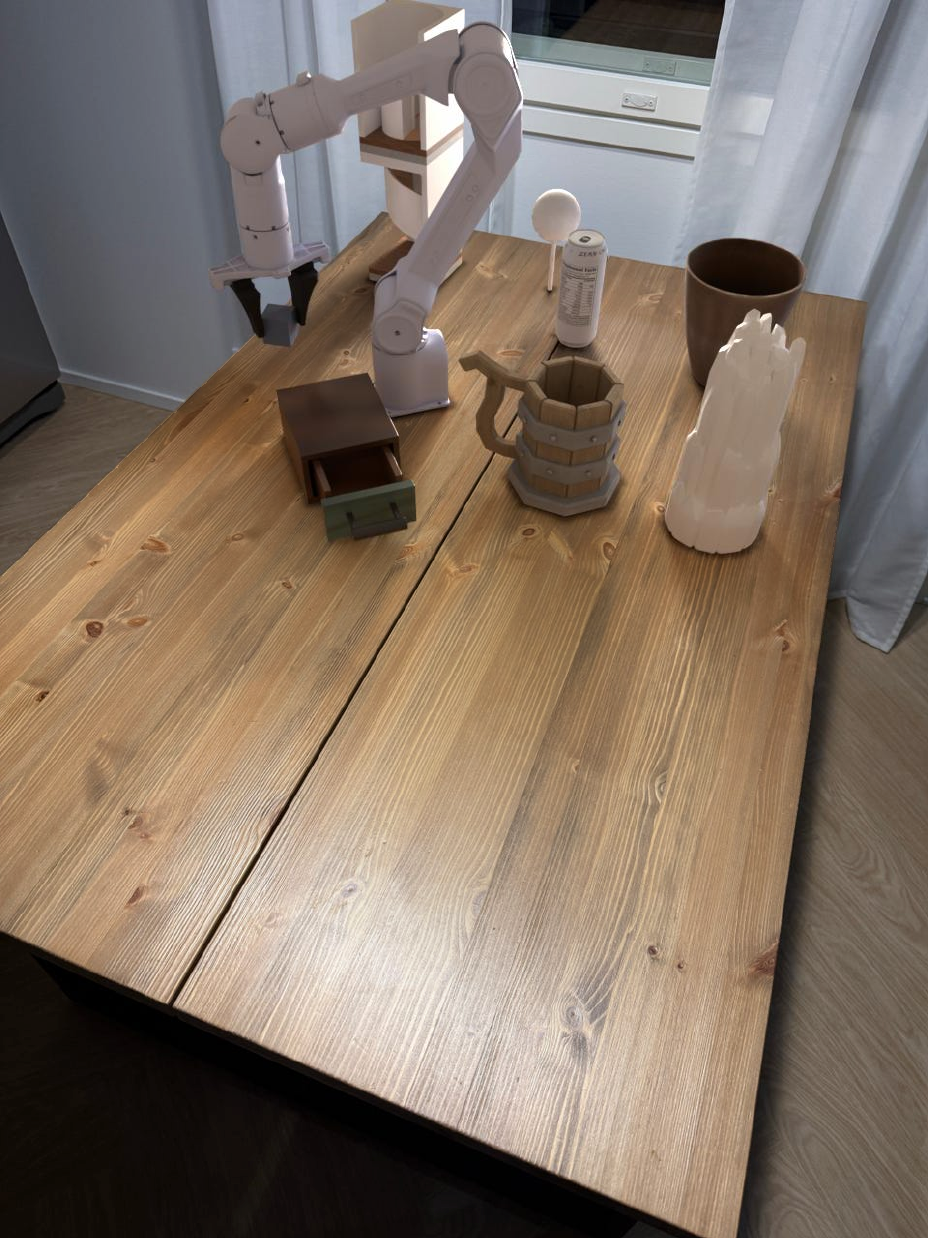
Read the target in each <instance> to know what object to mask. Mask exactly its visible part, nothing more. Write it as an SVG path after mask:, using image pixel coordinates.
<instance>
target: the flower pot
mask: <svg viewBox="0 0 928 1238" xmlns="http://www.w3.org/2000/svg"><path fill="white" fill-rule="evenodd" d="M807 279H808V271H807V267H806V265H805V263H804V262H803V261H802V259H800V257H798V256H797V255H796V254H795V253H793V252H791V251H790V250H788V249H786V248H784V247H782V246H780V245H777V244H774V243H772V242H768V241H763V240H760V239H755V238H747V237H723V238H717V239H716V238H715V239H711V240H708V241H705V242H702V243H700V244H698V245H696V246H695V247H693V249H691V250H690V251H689V253H688V254H687V256H686V259H685V271H684V293H683V294H684V295H683V296H684V297H683V298H684V299H683V301H684V307H683V308H684V329H685V338H686V339H685V340H686V347H687V348H686V349H687V354H688V361H689V366H690V371H691V374H692V377H693V378H694V379H695V380H696V382H697V383H699V384H700V385H702V386H704V387H706V384H707V380H708V376H709V372H710V370H711V368H712V366H713V363H714V361H715V359H716V357H717V355H718V353H719V351H720V350H721V348H722V347H724V346H726V345H727V344H728V342H729V340H730V338H731V337H732V335H733V333H734V331H735V330H736V328H737V326H738V325H740V324H742V323H743V321H744V319H745V317H746V314H747V313H748V312H750V311H751V310H753V309H756V310H758V311H759V312H760V318H761V317H762V316H763V315H765V314H768V313H771V315H772V322H771V332H770V333H772V332H773V330H774V327H775V325H776V324H778V325H779V326H781V327H782V328H784V325H785V323H786V322H787V320H788V319H789V316H790V314H791V312H792V311H793V308H794V306H795V304H796V302H797V300H798V298H799V296H800V294H801V292H802V290H803V288H804V285H805V284H806V281H807Z"/></svg>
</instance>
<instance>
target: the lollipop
mask: <svg viewBox="0 0 928 1238" xmlns="http://www.w3.org/2000/svg"><path fill="white" fill-rule="evenodd" d="M581 213H582V212H581V207H580V204H579V202H578V200H577V198H576V197H575V196H574V195H573V194H572V193H570V192H569V191H567V190H565V189H560V188H554V189H549V190H547V191H545V192H544V193H542V194H540V196H539V197H538V198H537V199H536V201H535V203H534V205H533V206H532V212H531V223H532V227H533V229H534V231H535V233H536V234H537V236H538V237H540V238H541V239H542V240H544V241H546V242H549V243H551V245H550V257H549V270H548V278H547V279H548V280H547V290H548V291H552V290H553V281H554V271H555V259H556V248H557V243H562V242H565V241H567V240H568V239H569V234H570V233H571V232H573V231H575V230H578V228H579V225H580V223H581V216H582V215H581Z"/></svg>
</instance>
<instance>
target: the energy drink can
mask: <svg viewBox="0 0 928 1238" xmlns="http://www.w3.org/2000/svg"><path fill="white" fill-rule="evenodd" d="M605 241H606V237H605V235H604V234H603V233H601V232H600V231H598V230H595V229H590V228H579V229H577V230H575V231H573V232H571V233H570V234H569V238H568V239H567V240H566V242H565V243H564V245H563V246H562V253H561V254H562V256H561V264H560V274H559V284H558V285H559V286H558V293H557V295H558V296H557V305H556V313H555V314H556V316H555V324H554V325H555V327H554V334H555V335H556V337H557V340H558V342H560V343H561V344H562V345H564V346H566V347H569V348H577V349H578V348H583V347H586V346H588V345H590V344H591V343H592V342H593V340H595V338H596V336H597V333H598V327H599V318H600V311H601V303H602V298H603V289H604V282H605V274H606V267H607V261H608V260H607V259H608V252H609V251H608V250H609V249H608V247H607V245H606V243H605Z"/></svg>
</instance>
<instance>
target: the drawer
mask: <svg viewBox="0 0 928 1238" xmlns="http://www.w3.org/2000/svg"><path fill="white" fill-rule="evenodd" d="M308 463H309V470H310V474H311V477H312V480H313V483H314V485H315V488H316V491H317V493H318V496H319V499H320V501H319V502H320V504H321V511H322V518H323V519H322V520H323V524H324V525H323V526H324V531H325V536H326V539H327V542H332V541H336V540H341V539H345V538H350V537H351V538H352V541H353V542H359V541H363V540H368V539H372V538H376V537H380V536H385V535H388V534H394V533H398V532H402V531H407V530H408V524H410V523H414V522H417V501H416V485H415V483H414V481H413V479H408V480H404V478H403V472H402V470H401V471H400V469H399V467H398V464H397V462H396V460H395V458H394V456H393V454H392V452H391V450H390V448H389V445H388V444H385V445H380V446H375V447H370V448H365V449H361V450H356V451H351V452H346V453H342V454H337V455H332V456H327V457H322V458H318V459H313V460H308Z"/></svg>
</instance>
